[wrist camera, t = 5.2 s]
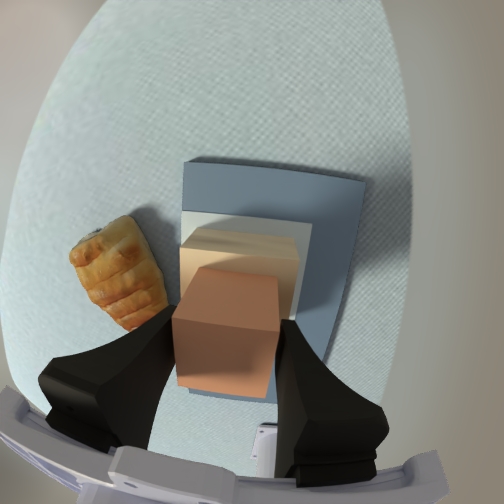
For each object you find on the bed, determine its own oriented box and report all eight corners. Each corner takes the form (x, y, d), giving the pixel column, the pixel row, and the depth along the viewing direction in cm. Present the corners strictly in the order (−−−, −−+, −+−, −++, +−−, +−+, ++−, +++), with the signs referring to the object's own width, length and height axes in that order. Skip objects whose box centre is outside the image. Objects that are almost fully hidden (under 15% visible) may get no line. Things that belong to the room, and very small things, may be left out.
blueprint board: (305, 398, 23) (306, 405, 22) (191, 387, 24) (189, 393, 23) (362, 181, 16) (366, 183, 15) (187, 161, 16) (183, 162, 15)
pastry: (197, 313, 20) (184, 345, 17) (135, 333, 22) (117, 361, 18) (134, 204, 18) (105, 218, 14) (77, 242, 19) (48, 260, 16)
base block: (280, 319, 19) (282, 352, 16) (196, 309, 19) (183, 339, 16) (293, 237, 17) (299, 260, 13) (196, 227, 17) (179, 247, 14)
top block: (267, 338, 15) (265, 398, 11) (198, 329, 15) (178, 385, 11) (277, 276, 14) (279, 331, 10) (198, 267, 14) (171, 317, 10)
